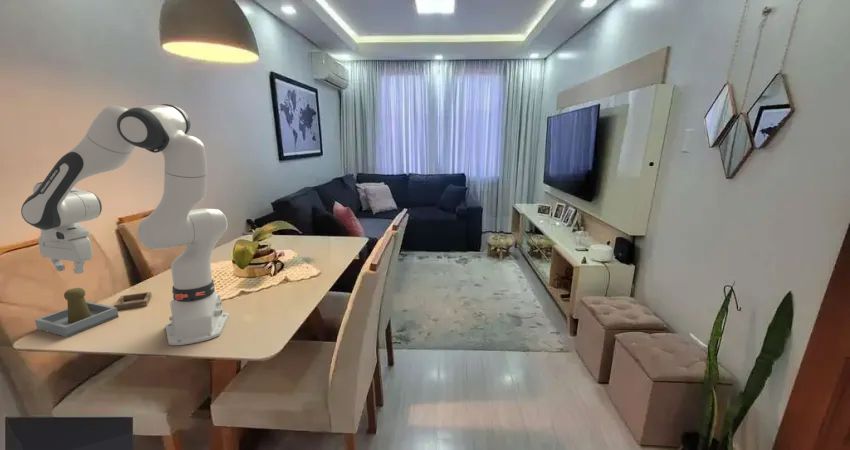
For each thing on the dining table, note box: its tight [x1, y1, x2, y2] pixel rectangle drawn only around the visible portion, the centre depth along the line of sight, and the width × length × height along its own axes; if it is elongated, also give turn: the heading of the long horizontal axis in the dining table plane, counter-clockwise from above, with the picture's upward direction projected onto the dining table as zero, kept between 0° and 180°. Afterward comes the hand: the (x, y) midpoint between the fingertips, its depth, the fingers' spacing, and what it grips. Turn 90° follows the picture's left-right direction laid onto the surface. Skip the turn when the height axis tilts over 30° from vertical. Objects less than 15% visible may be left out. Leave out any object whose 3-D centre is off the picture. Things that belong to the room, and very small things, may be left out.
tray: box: [34, 300, 120, 338], centre depth 126 cm, size 15×15×4 cm
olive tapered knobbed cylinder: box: [63, 287, 91, 324], centre depth 125 cm, size 6×6×11 cm
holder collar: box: [113, 291, 153, 311], centre depth 141 cm, size 10×10×2 cm
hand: (69, 271), depth 122 cm, fingers open, 8 cm apart
